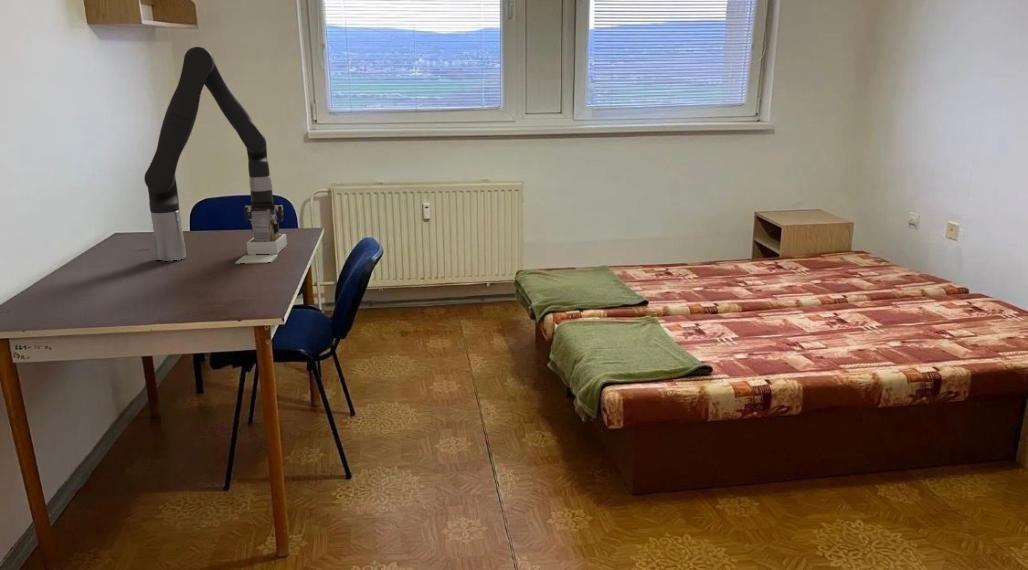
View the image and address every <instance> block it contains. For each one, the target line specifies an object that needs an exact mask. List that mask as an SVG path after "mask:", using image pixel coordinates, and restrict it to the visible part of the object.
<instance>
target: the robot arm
mask: <svg viewBox="0 0 1028 570" xmlns="http://www.w3.org/2000/svg"><path fill="white" fill-rule="evenodd" d="M182 63H183V64H182V68H181V73H180V77H179V81H178V84H177V86H176V89H175V90H174V92H173V94H172V97H171V98H170V102H169V104H168V105H167V106H168V107H167V108H166V111H165V114H164V117H163V120H162V125H161V127H160V131H159V135H158V136H159V137H158V141H157V147H156V149H155V153H154V155H153V158H152V160H151V162H150V164H149V166H148V168H147V170H146V172H145V174H144V179H143V180H144V183H145V186H146V187H147V192H148V199H149V201H148V202H149V203H148V204H149V212H150V216H151V217H150V218H151V223H152V228H153V229H152V231H153V233H152V234H151V238H152V239H151V240H152V246H153V251H154V258H155V261H156V260H163V261H162V262H164V261H168V262H174V261H173V260H177V261H181V259H182V260H185V259H186V258H187V252H186V244H185V237H184V232H183V225H182V217H181V212H180V211H181V210H180V205H179V203H180V202H179V194H178V187H177V186H178V184H177V178H176V171H177V168H178V163H179V160H180V156H181V155H182V152H183V150H185V149H184V148H185V146H186V145H187V143H188V141H189V139H190V137H191V135H192V131H193V129H194V125H195V123H196V119H197V115H198V112H199V107H200V101H201V100H200V99H201V96H202V95H201V94H202V91H203V88H204V86H205V87H206V89H207V90H208V91H209V92H210V94H211V95H212V97H213V99H214V100H215V102H216V104H217V105H218V107H219V109H220V110H221V113H222V114H223V115H224V117H225V118H226V120H227V121H228V123H229V124H230V125H231V126H232V128H233V129H234V130H235V132H236V133H237V135H238V136H239V138H240V140H241V141H242V144H243V145H244V146H245V148H246V153H247V158H248V159H247V160H248V162H247V165H248V176H249V177H248V178H249V181H248V183H249V192H250V198H251V205H245V206H243V215H244V220H245V222H246V224H250V225H251V226H252V220H251V212H250V210H252V209H254V208H257V209H258V208H271V211H273V210H274V209H275V208H276V212H277V214H276V215H277V216H278V217H276V215H275V214H274V215H272V214H271V218H272V221H273V223H274V224H273V226H274V234H277V233H278V232H279V233H280V226H279V224H280V223H282V222H283V221H284V205H282V204H280V205H279V204H278V205H277V204H275V202H274V194H273V185H272V180H271V175H270V166H269V161H268V149H267V147H268V146H267V139H266V137H265V135H263V134H262V132H260V130H259V129H258V127H257V126H256V125H255V123H254V122H253V120H252V117H251V116H250V114H249V113H248V111H247V110H246V109H245V107H244V106H243V104H242V102H241V101H240V100H239V98H238V97H237V96H236V94H235V93H234V92H233V91H232V90H231V88H230V86H229V85H228V84H227V82H226V81H225V80H224V78H223V76H222V75H221V72H220V70H219V68H218V66H217V64H216V62H215V58H214V56H213V54H212V53H211V52H210V51H209V50H208V49H206V48H205V47H201V46H194V47H193V46H192V47H190V48H189V49H188V50H187V51H186V52H185V54H184V57H183V62H182ZM251 231H252V233H253V228H252V227H251Z"/></svg>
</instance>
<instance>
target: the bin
mask: <svg viewBox="0 0 1028 570" xmlns="http://www.w3.org/2000/svg"><path fill="white" fill-rule="evenodd" d="M286 245H287V246H288V241H287V233H279V238H278V239H277V240H276V241H275V242H254V237H252V238H251V239H250V240H248V241H247V242H246V248H247V249H246V250H247V255H256V254H269V255H279V254H280V253H281V252H282V251H283V250H284V249H285V248H286V247H287V246H286ZM284 247H285V248H284ZM283 248H284V249H283ZM282 249H283V250H282ZM281 250H282V251H281ZM280 251H281V252H280ZM279 252H280V253H279ZM278 253H279V254H278Z"/></svg>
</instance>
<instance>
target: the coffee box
mask: <svg viewBox="0 0 1028 570" xmlns="http://www.w3.org/2000/svg"><path fill="white" fill-rule="evenodd" d="M271 214H272V215H274V214H275V215H276V217H277V216H278V214H277V210H276V208H275V209H274V210H273V211H271V208H258V209H257V208H254V209H251V210H250V217H251V220H252V225H251V229H252V228H253V232H252V236H253V238H254V242H275V241H276V240H277V239H278V238H279V234H280V231H279V232H278V233H277V234H274V226H273V224H274V223H273V221H272V218H271ZM277 218H278V217H277Z"/></svg>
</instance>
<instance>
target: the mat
mask: <svg viewBox="0 0 1028 570" xmlns="http://www.w3.org/2000/svg"><path fill="white" fill-rule="evenodd" d="M278 257H279V254H269V255H248V254H247V255H243V256H241V257H240V258H239V259H237V261H235V265H237V264H238V265H239V264H240V263H245V264H269V263H268V262H271V263H272V262H273V261H274V260H275V259H277V258H278ZM240 265H241V264H240Z"/></svg>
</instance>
